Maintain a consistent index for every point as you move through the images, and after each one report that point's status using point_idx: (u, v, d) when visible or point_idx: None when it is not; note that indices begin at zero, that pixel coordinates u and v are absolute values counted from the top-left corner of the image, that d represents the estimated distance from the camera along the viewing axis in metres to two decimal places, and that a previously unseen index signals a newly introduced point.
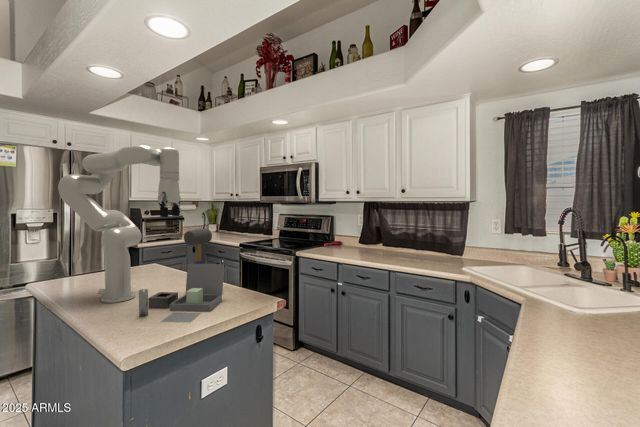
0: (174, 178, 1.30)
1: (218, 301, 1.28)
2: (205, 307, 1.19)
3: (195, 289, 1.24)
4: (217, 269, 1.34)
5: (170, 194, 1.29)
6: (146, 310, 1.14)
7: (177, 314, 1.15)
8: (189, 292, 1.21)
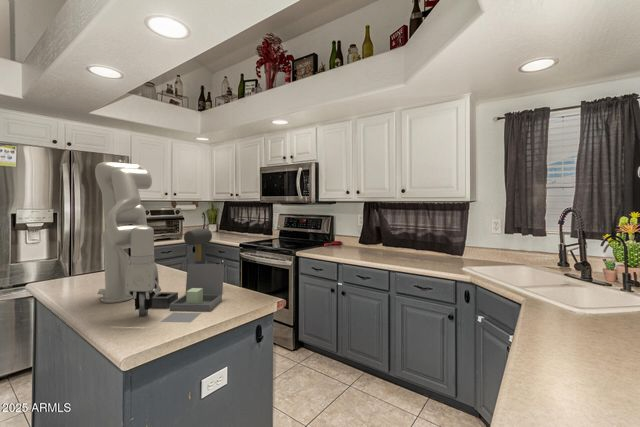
0: None
1: (218, 301, 1.28)
2: (205, 307, 1.19)
3: (195, 289, 1.24)
4: (217, 269, 1.34)
5: None
6: (146, 310, 1.14)
7: (177, 314, 1.15)
8: (189, 292, 1.21)
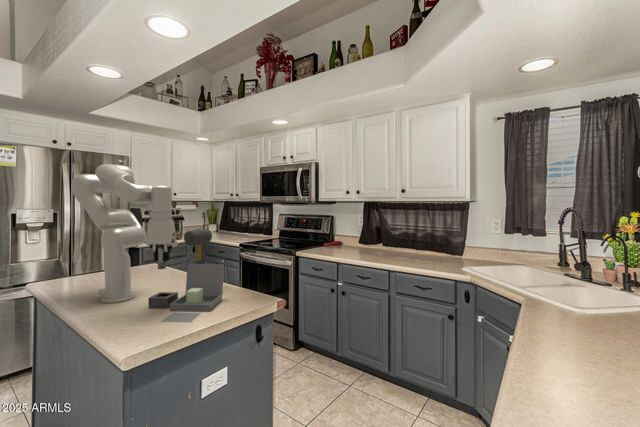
0: None
1: (218, 301, 1.28)
2: (205, 307, 1.19)
3: (195, 289, 1.24)
4: (217, 269, 1.34)
5: None
6: (164, 262, 1.25)
7: (177, 314, 1.15)
8: (189, 292, 1.21)
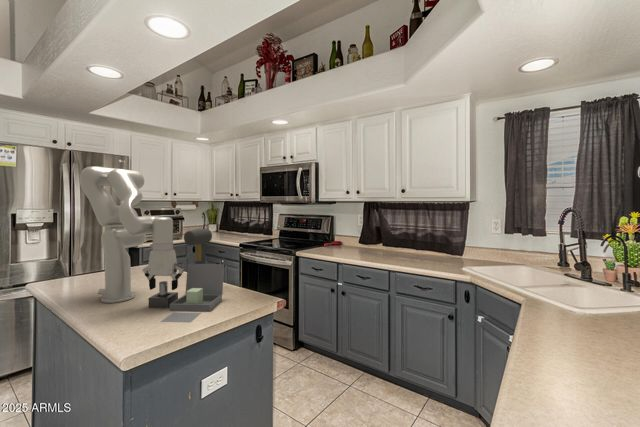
0: None
1: (218, 301, 1.28)
2: (205, 307, 1.19)
3: (195, 289, 1.24)
4: (217, 269, 1.34)
5: None
6: None
7: (177, 314, 1.15)
8: (189, 292, 1.21)
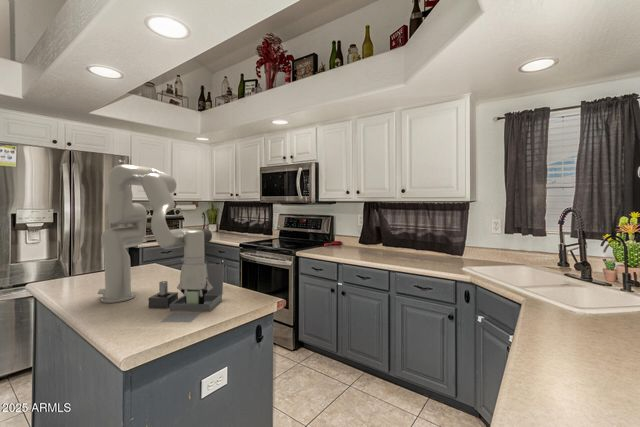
0: None
1: (218, 301, 1.28)
2: (205, 307, 1.19)
3: None
4: (217, 269, 1.34)
5: None
6: None
7: (177, 314, 1.15)
8: (189, 292, 1.21)
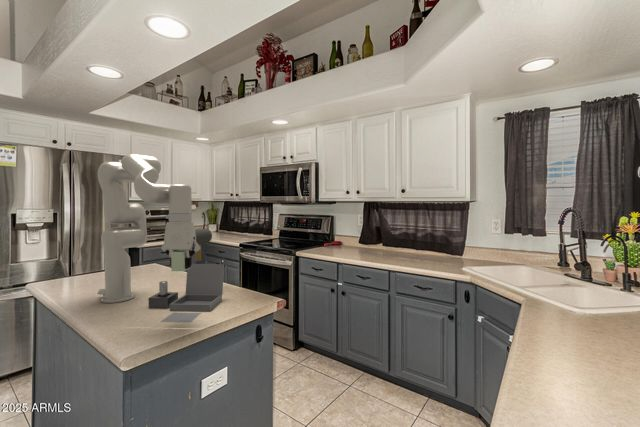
0: None
1: (218, 301, 1.28)
2: (205, 307, 1.19)
3: (181, 250, 1.13)
4: (217, 269, 1.34)
5: None
6: None
7: (177, 314, 1.15)
8: (174, 252, 1.10)
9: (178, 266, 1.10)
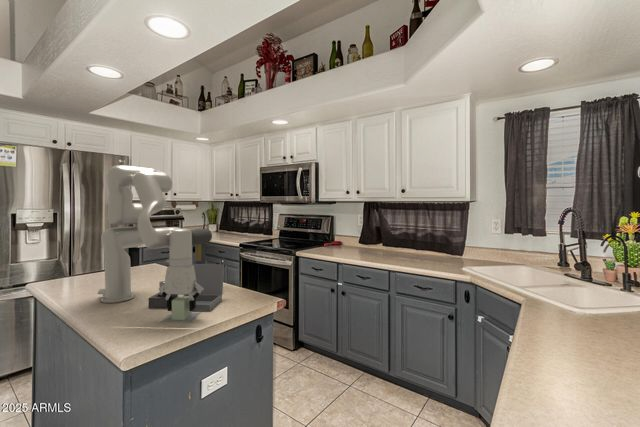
0: None
1: (218, 301, 1.28)
2: (205, 307, 1.19)
3: (182, 297, 1.13)
4: (217, 269, 1.34)
5: None
6: None
7: None
8: (175, 301, 1.10)
9: (178, 315, 1.10)
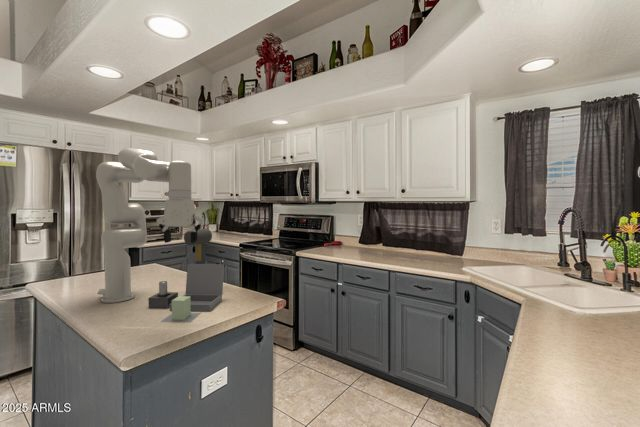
0: None
1: (218, 301, 1.28)
2: (205, 307, 1.19)
3: (182, 297, 1.13)
4: (217, 269, 1.34)
5: None
6: None
7: None
8: (175, 301, 1.10)
9: (178, 315, 1.10)
